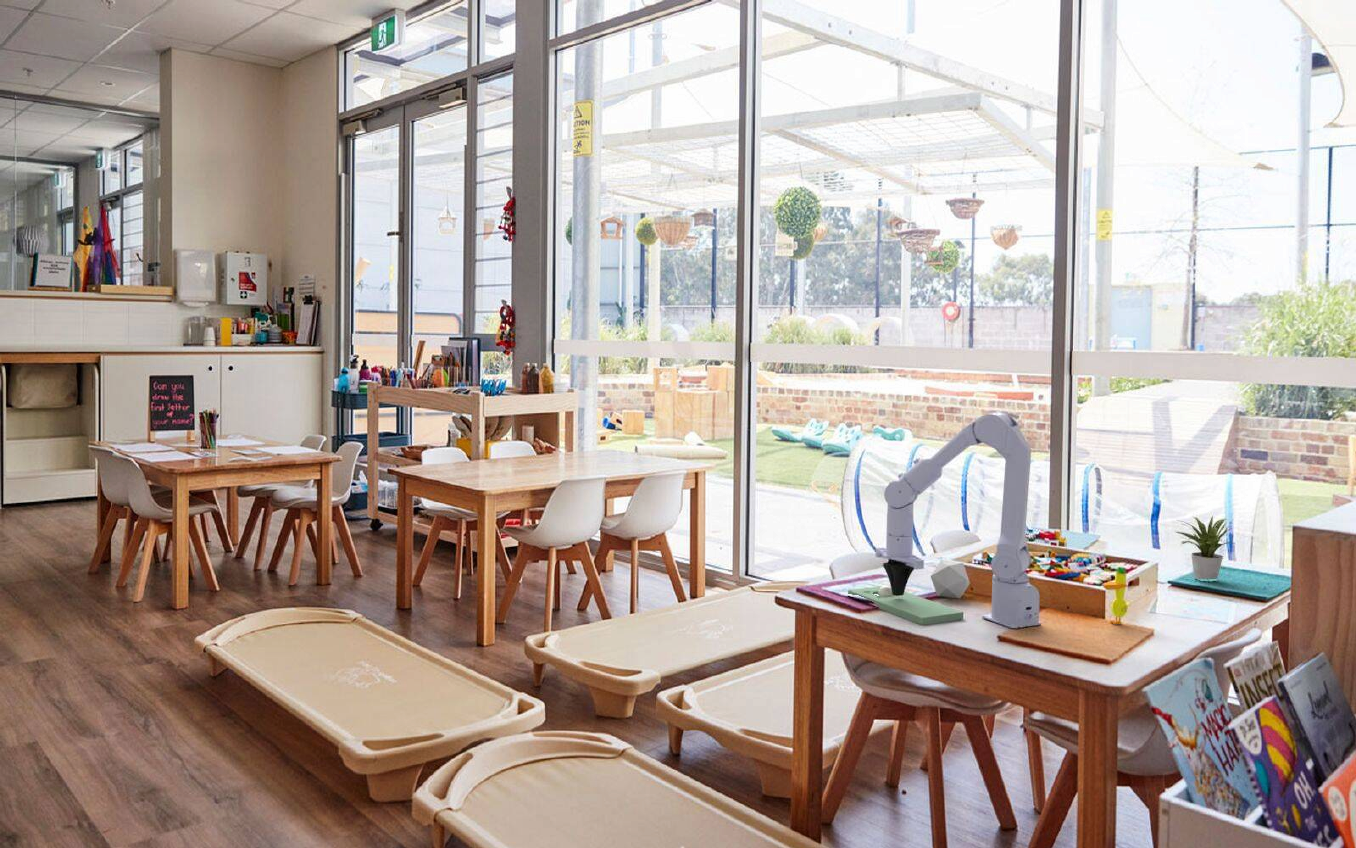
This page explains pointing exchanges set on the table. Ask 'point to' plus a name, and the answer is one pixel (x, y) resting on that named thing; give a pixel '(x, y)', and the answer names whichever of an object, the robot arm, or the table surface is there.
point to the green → (910, 606)
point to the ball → (885, 591)
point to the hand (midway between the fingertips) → (898, 595)
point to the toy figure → (1118, 594)
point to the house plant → (1206, 549)
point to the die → (950, 579)
